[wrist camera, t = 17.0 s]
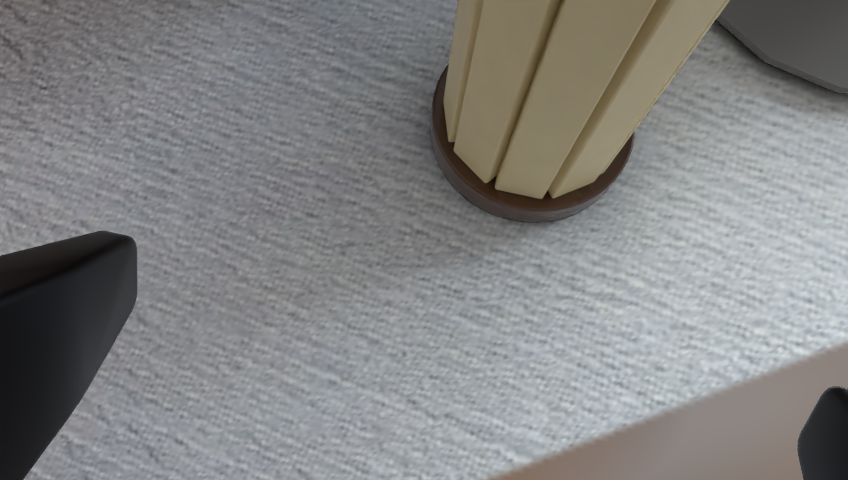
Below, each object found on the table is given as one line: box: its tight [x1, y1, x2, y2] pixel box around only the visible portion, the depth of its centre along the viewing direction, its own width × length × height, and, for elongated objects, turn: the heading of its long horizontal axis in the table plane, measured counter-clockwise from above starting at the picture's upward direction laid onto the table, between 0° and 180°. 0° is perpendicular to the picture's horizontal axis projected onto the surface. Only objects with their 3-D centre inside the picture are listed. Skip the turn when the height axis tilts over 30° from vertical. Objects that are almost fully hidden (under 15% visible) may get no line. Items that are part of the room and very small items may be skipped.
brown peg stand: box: [430, 63, 635, 223], centre depth 18 cm, size 6×6×5 cm
